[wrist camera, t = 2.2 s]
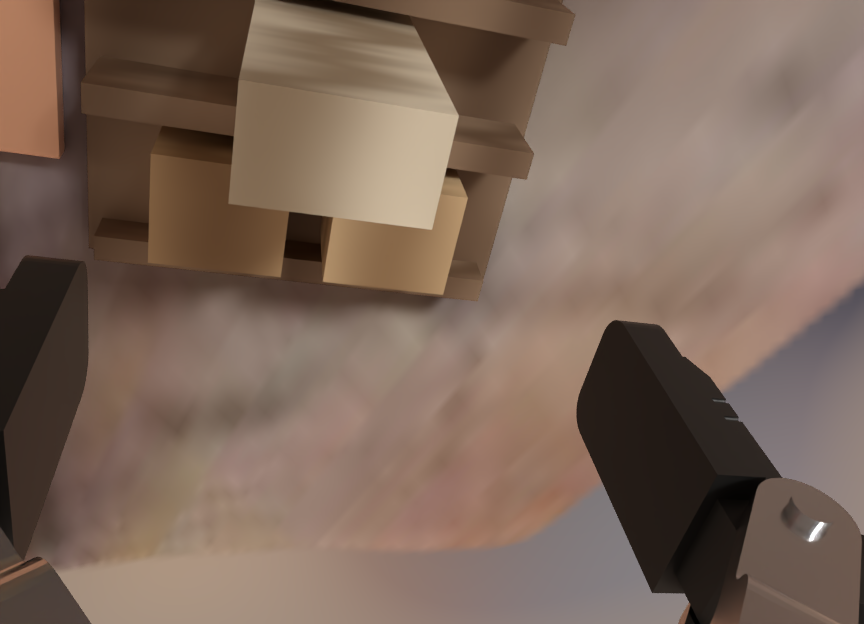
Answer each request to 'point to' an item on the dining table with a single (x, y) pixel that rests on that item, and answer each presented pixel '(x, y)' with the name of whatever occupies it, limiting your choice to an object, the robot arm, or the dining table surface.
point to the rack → (217, 99)
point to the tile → (31, 78)
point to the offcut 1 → (207, 209)
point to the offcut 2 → (395, 247)
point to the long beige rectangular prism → (340, 115)
